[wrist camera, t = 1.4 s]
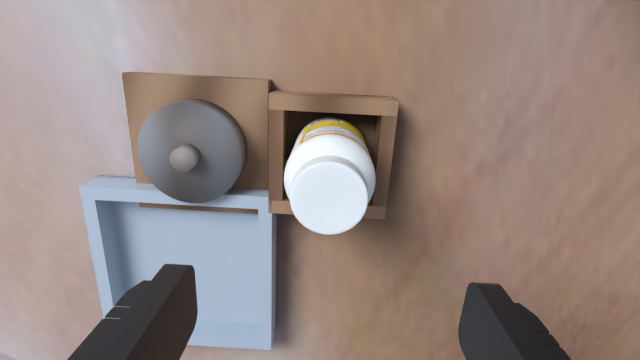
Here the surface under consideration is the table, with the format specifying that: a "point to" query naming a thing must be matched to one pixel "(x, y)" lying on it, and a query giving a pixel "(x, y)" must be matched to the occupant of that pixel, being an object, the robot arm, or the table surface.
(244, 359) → the table surface
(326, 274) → the table surface
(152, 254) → the tray
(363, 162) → the supplement bottle
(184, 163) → the block
